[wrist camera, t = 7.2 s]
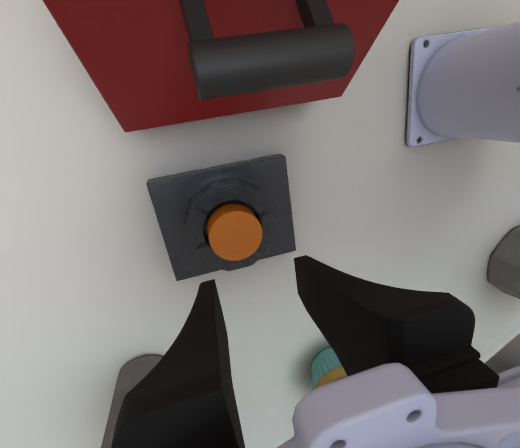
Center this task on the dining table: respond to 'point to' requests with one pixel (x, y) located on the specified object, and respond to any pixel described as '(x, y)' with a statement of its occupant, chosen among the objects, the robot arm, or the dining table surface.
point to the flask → (126, 390)
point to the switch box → (213, 197)
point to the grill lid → (217, 53)
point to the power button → (234, 232)
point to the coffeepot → (506, 264)
